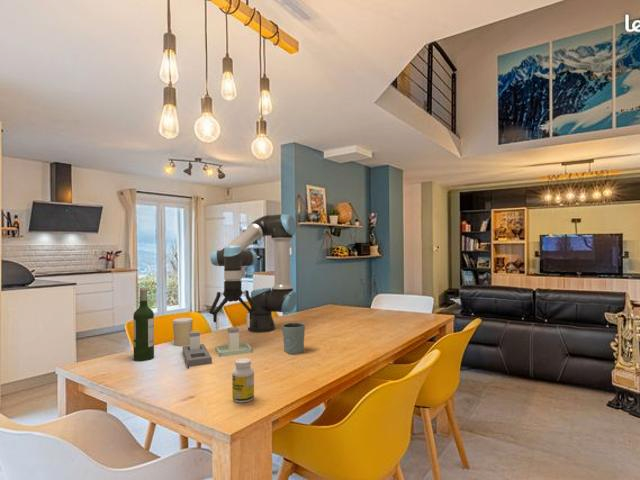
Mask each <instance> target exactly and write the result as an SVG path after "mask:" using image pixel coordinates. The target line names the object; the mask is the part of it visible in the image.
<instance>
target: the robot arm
mask: <svg viewBox="0 0 640 480" xmlns="http://www.w3.org/2000/svg"><path fill="white" fill-rule="evenodd" d="M296 233H297V223H296V220H295V219H294V217H293V216H292V215H291V214H286V213H285V214H284V213H282V214H268V215H263V216H260V217H259V218H257V219H255V220H254V221H252V222H251V223H249V224H248V226H247V229H245V230H244V231H243V232H242V233H240V234H239V235H238V236H236V237H235V239H233V240H232V241H230V242H229V244H227V245H226V246H224V247H223V248H222V249H220V250H219V249H218V250H214V251H212V253H211V254H210V256H209V257H210V262H211V264H212V265H213V266H216V267H223V279H224V281H223V291H216V294H215V295H216V296H215V298H214V299H213V300H214V301H213V303H212V304H211V307H210V309H209V310H208V313H209V314H210V315H212V316H213V318H212V319H213V323H215V331H219V330H220V329H219V327H220V325H219V316H220V315H219V312H220V311H221V309H222V308H224V306H225V305H226V303H228V302H238V301H239V302H240V304H241V305H242V307H244V308H245V309H246V310H247V311H246V313H245V314H246V327H247V331H248V332H250V333H266V332H273V331H274V330H275V329H276V326H275V325H276V324H275V321H274V318H273V314H272V312H275V313H292V312H293V310H295V308H296V306H297V302H298V294H297V292H296V291H294V287H293V286H292V285H291V247H290V246H291V241H292V240H293V236H294V235H296ZM269 236H270V237H271V240H272V241H273V242H274V243H273V246H274V247H273V248H274V249H273V254H274V255H273V256H274V257H273V258H274V260H273V261H274V262H273V263H274V265H273V266H274V272H273V273H274V275H273V276H274V285H273V286H272V287H265V288H258V289H253V290H251V292H249V290H243V289H242V267H251V266H254V265H256V263H257V262H258V255H257V253H256V251H254V250H250V249H247V248H248V247H250V245H252V244H253V243H254V242H255V241H256V240H260V239H261V238H264V237H269ZM222 296H224V298H223V299H222V301H221V302H220V303H219V301H220V298H221V297H222ZM241 296H245V299H246V301H247V302H248V304H247V303H246V302H245V300H243V298H242V297H241ZM218 303H219V305H218ZM217 305H218V306H217ZM249 306H250V307H249Z"/></svg>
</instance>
